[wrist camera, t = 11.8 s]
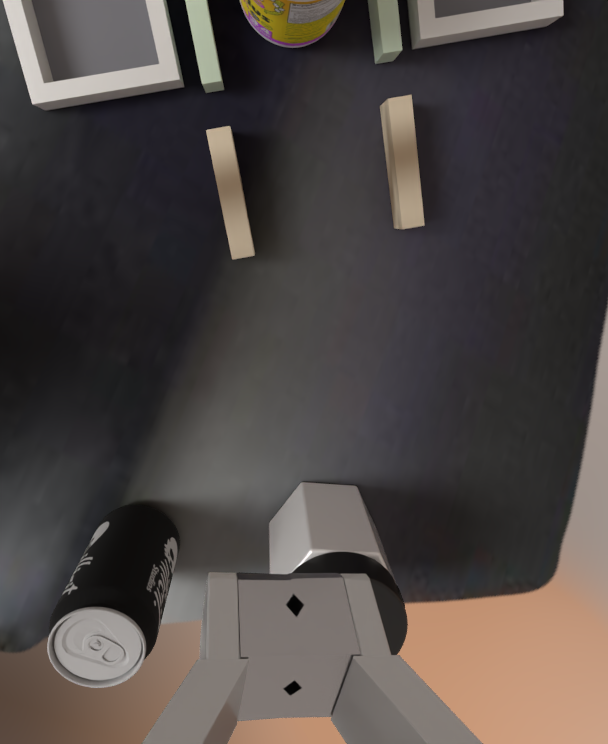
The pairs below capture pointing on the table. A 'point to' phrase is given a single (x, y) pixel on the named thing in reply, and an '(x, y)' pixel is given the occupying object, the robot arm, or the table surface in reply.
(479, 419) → the table surface
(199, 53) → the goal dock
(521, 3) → the tray
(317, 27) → the supplement bottle
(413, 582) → the table surface
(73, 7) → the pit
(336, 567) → the jar
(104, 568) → the beverage can
